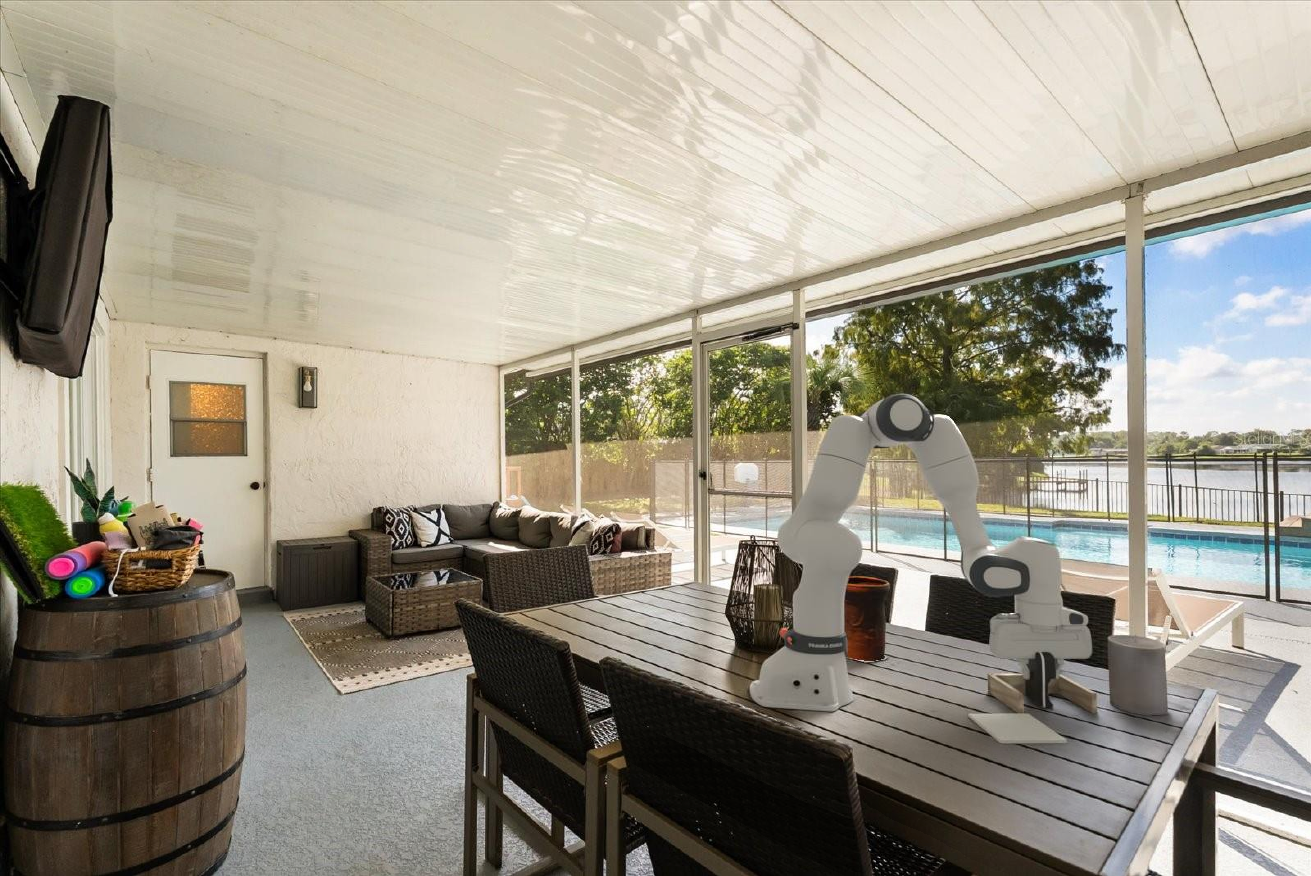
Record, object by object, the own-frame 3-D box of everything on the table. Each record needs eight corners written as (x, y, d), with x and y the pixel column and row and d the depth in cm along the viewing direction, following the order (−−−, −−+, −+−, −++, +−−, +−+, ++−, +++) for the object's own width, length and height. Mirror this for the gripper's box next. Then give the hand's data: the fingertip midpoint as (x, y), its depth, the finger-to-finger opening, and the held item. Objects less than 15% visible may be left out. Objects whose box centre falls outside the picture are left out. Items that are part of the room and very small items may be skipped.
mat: (1000, 743, 114) (1000, 740, 114) (968, 716, 126) (968, 713, 126) (1066, 743, 114) (1066, 739, 114) (1027, 716, 126) (1027, 713, 126)
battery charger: (1059, 709, 129) (1058, 654, 129) (1040, 709, 129) (1038, 653, 130) (1042, 697, 136) (1041, 644, 136) (1024, 696, 136) (1023, 643, 137)
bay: (1018, 713, 127) (1018, 693, 127) (987, 691, 139) (987, 673, 139) (1097, 713, 127) (1096, 693, 127) (1059, 691, 139) (1059, 673, 139)
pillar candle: (1114, 694, 137) (1111, 626, 138) (1171, 706, 130) (1168, 634, 131) (1105, 707, 130) (1102, 635, 131) (1165, 721, 123) (1161, 644, 124)
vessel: (830, 645, 175) (830, 574, 176) (882, 648, 173) (883, 576, 174) (837, 662, 161) (838, 584, 162) (895, 665, 159) (895, 586, 160)
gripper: (997, 617, 130) (999, 684, 130) (1096, 616, 130) (1098, 683, 130) (982, 610, 137) (984, 673, 136) (1075, 609, 137) (1078, 673, 136)
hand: (1040, 678), depth 133 cm, fingers closed on battery charger, 4 cm apart
